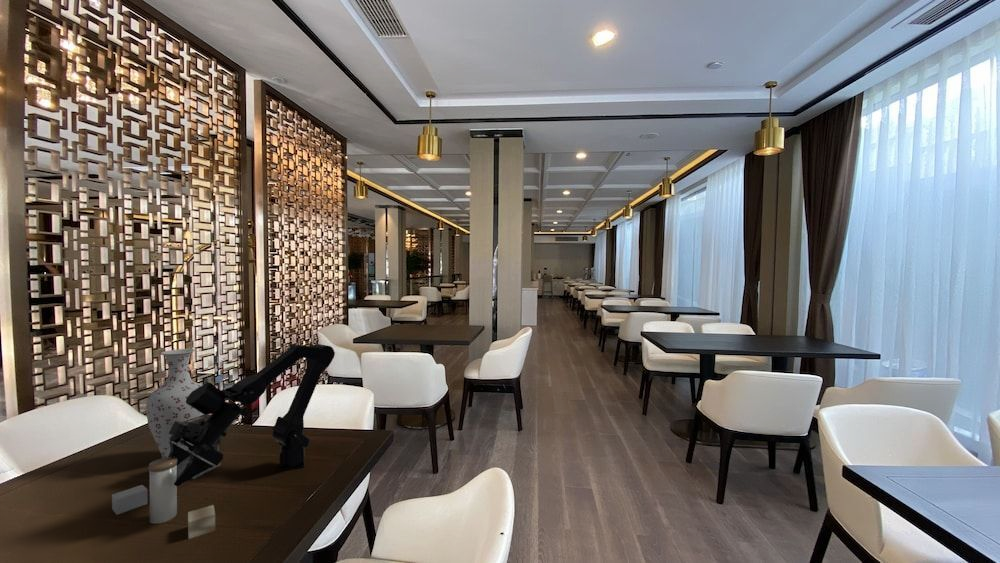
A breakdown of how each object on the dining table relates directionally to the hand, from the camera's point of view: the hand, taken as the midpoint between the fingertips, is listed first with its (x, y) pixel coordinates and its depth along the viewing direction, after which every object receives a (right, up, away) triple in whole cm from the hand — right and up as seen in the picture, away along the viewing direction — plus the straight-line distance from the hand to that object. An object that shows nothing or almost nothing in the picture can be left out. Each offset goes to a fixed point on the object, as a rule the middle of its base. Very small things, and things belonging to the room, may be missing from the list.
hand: (168, 480), depth 101 cm
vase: (-24, -8, +33) cm, 41 cm away
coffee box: (-9, -9, +23) cm, 26 cm away
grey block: (-13, -9, +4) cm, 16 cm away
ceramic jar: (-1, -9, -1) cm, 9 cm away
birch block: (+12, -9, -5) cm, 16 cm away
